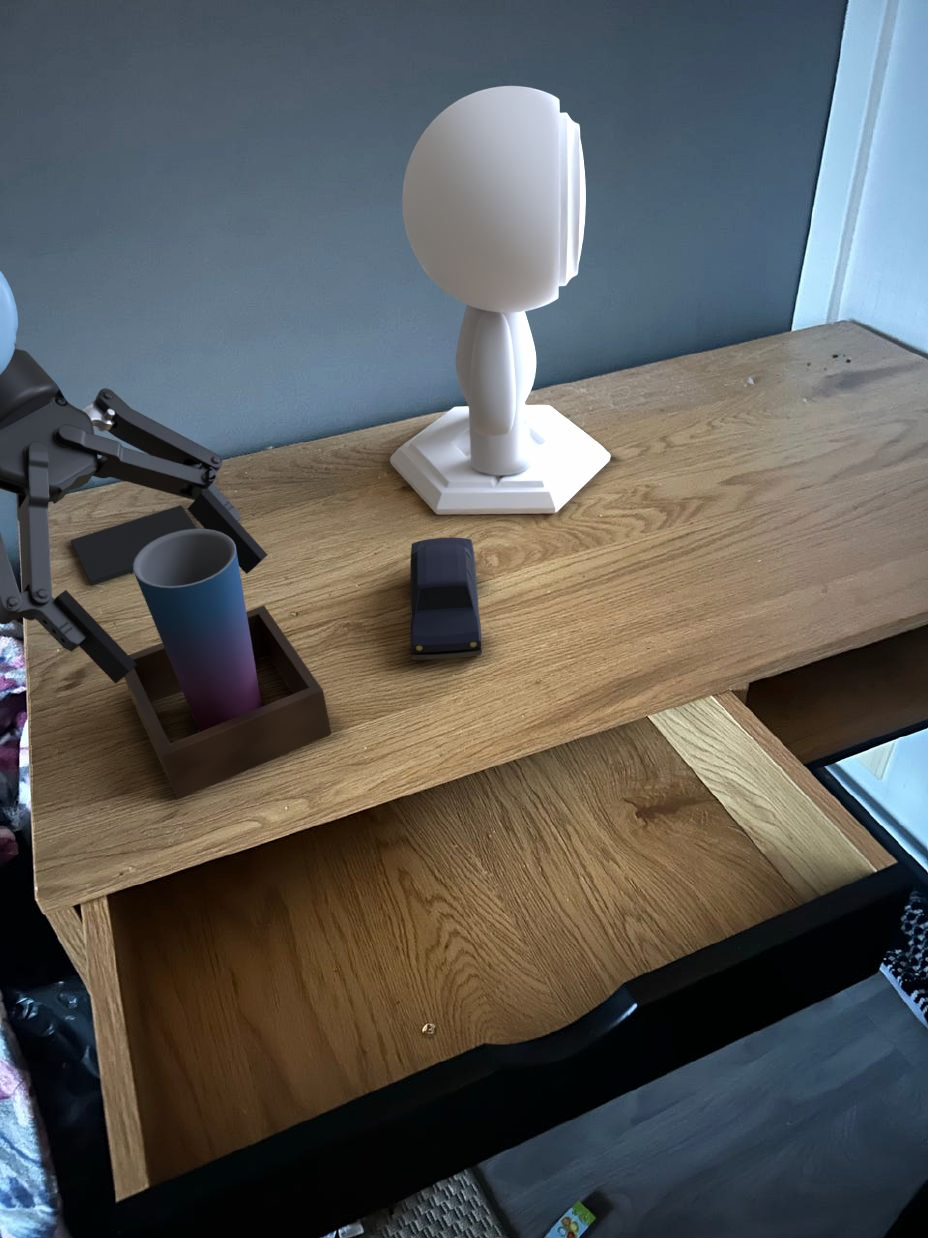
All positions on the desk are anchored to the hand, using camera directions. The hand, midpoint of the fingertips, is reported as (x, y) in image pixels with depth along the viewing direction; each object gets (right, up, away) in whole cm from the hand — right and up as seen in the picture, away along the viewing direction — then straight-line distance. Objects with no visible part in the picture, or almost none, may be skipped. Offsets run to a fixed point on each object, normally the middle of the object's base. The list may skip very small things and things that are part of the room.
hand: (196, 616), depth 69 cm
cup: (+1, -8, +6) cm, 10 cm away
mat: (-12, +7, +25) cm, 29 cm away
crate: (+1, -8, +6) cm, 10 cm away
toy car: (+17, 0, +14) cm, 22 cm away
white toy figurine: (+23, +16, +34) cm, 44 cm away
